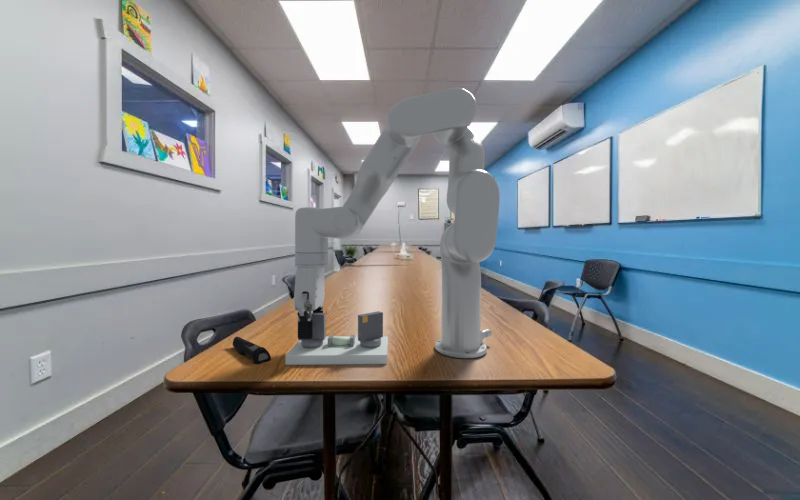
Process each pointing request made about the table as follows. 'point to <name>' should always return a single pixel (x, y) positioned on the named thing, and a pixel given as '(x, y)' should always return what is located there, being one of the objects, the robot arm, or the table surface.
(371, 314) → the knob
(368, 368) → the table surface
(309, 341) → the knob
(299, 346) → the level plate
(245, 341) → the electric trimmer
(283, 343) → the table surface
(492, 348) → the table surface
